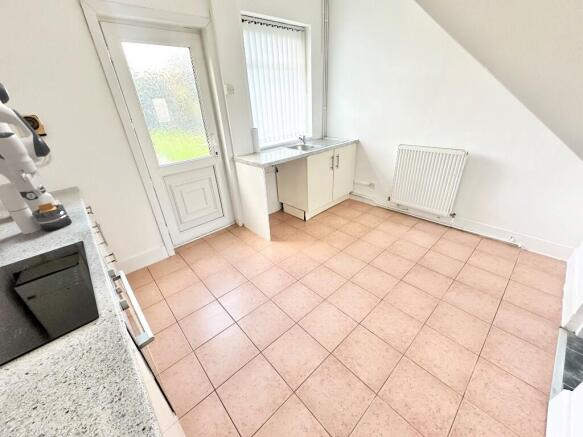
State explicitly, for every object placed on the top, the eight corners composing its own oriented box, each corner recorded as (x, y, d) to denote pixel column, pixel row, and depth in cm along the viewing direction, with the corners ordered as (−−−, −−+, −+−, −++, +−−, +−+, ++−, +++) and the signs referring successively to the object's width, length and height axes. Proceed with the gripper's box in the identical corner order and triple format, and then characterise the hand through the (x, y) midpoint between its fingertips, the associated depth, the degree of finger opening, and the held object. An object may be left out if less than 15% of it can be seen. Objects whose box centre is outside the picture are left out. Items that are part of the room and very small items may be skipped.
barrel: (44, 225, 129) (34, 209, 125) (72, 218, 136) (63, 202, 131) (40, 234, 121) (29, 216, 116) (71, 226, 127) (61, 209, 122)
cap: (58, 208, 129) (53, 200, 126) (57, 212, 124) (52, 203, 121) (42, 212, 125) (37, 203, 123) (40, 216, 120) (34, 207, 118)
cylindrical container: (29, 234, 121) (-2, 188, 110) (19, 233, 123) (-13, 188, 111) (45, 227, 127) (17, 183, 116) (35, 226, 129) (6, 182, 117)
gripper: (28, 171, 108) (45, 199, 114) (36, 163, 123) (50, 189, 129) (8, 174, 104) (27, 203, 111) (19, 166, 119) (34, 192, 126)
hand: (39, 195), depth 120 cm, fingers closed
